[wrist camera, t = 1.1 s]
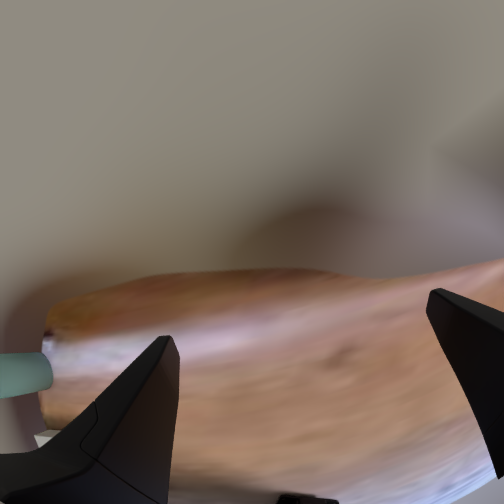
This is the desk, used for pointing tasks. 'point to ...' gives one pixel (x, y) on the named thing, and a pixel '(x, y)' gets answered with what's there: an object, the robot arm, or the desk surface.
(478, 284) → the desk surface
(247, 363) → the desk surface
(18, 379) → the pillar
